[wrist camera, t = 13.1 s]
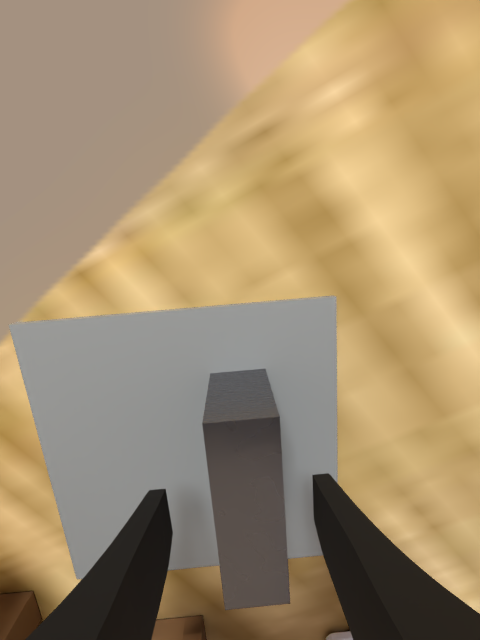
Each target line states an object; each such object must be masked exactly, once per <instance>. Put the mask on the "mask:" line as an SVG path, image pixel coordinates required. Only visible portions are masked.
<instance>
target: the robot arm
mask: <svg viewBox="0 0 480 640" xmlns="http://www.w3.org/2000/svg"><path fill="white" fill-rule="evenodd" d="M312 478H313V510H314V522H315V526H316V530H317V534H318V538H319V542H320V546H321V550H322V553H323V556H324V559H325V561H326V564H327V567H328V570H329V573H330V575H331V578H332V581H333V584H334V587H335V589H336V592H337V595H338V598H339V601H340V603H341V606H342V609H343V612H344V614H345V617H346V620H347V623H348V626H349V629H350V631H347V632H337V633H331V634H329V635H328V636H327V637H326V640H480V614H479V613H478V612H476V611H475V610H473V609H472V608H471V607H469V606H468V605H467V604H465V603H464V602H463V601H461V600H460V599H459V598H458V597H456V596H455V595H454V594H452V593H451V592H450V591H448V590H447V589H446V588H444V587H443V586H442V585H440V584H439V583H438V582H437V581H435V580H434V579H433V578H432V577H431V576H429V575H428V574H427V573H426V572H424V571H423V570H422V569H421V568H420V567H419V566H417V565H416V564H415V563H414V562H413V561H412V560H411V559H409V558H408V557H407V556H406V555H405V554H404V553H403V552H402V551H401V550H400V549H398V548H397V547H396V546H395V545H394V544H393V543H392V542H391V541H390V540H389V539H388V538H387V537H386V536H385V535H384V534H383V533H382V532H381V531H380V530H379V529H378V528H377V527H376V526H375V525H374V524H373V523H372V522H371V521H370V520H369V519H368V518H367V516H366V515H365V514H364V513H363V512H362V511H361V510H360V509H359V508H358V507H357V506H356V505H355V503H354V502H353V501H352V500H351V499H350V498H349V497H348V495H347V494H346V493H345V492H344V491H343V489H342V488H341V487H340V486H339V485H338V483H337V482H336V481H335V480H334V478H333V477H332V476H331V475H330V474H329V473H326V474H315V475H312ZM172 537H173V530H172V524H171V518H170V512H169V506H168V500H167V494H166V489H156V490H149V491H148V492H147V494H146V495H145V497H144V498H143V500H142V501H141V502H140V504H139V505H138V507H137V508H136V510H135V511H134V513H133V514H132V515H131V517H130V518H129V520H128V521H127V523H126V524H125V525H124V527H123V528H122V529H121V531H120V532H119V533H118V535H117V536H116V537H115V539H114V540H113V542H112V543H111V544H110V546H109V547H108V548H107V549H106V551H105V552H104V553H103V554H102V556H101V557H100V558H99V559H98V561H97V562H96V563H95V564H94V566H93V567H92V568H91V569H90V571H89V572H88V573H87V574H86V575H85V577H84V578H83V579H82V580H81V581H80V582H79V584H78V585H77V586H76V587H75V588H74V589H73V590H72V591H71V593H70V594H69V595H68V596H67V597H66V598H65V599H64V600H63V601H62V602H61V604H60V605H59V606H58V607H57V608H56V609H55V610H54V611H53V612H52V613H51V614H50V615H49V616H48V617H47V618H46V619H45V620H44V621H43V622H42V623H41V624H40V625H39V626H38V627H37V628H36V629H35V630H34V631H33V632H32V633H31V634H30V635H29V636H28V637H27V638H26V639H25V640H152V635H153V631H154V627H155V622H156V618H157V614H158V610H159V605H160V601H161V597H162V593H163V588H164V584H165V580H166V575H167V571H168V566H169V560H170V553H171V545H172Z"/></svg>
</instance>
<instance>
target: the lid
mask: <svg viewBox="0 0 480 640" xmlns="http://www.w3.org/2000/svg"><path fill="white" fill-rule="evenodd" d="M9 328H10V332H11V335H12V339H13V343H14V347H15V350H16V354H17V358H18V361H19V365H20V369H21V373H22V376H23V380H24V384H25V388H26V391H27V395H28V399H29V403H30V406H31V410H32V414H33V417H34V421H35V425H36V429H37V432H38V436H39V440H40V444H41V447H42V451H43V455H44V459H45V462H46V466H47V470H48V473H49V477H50V481H51V485H52V488H53V492H54V496H55V500H56V503H57V507H58V511H59V515H60V518H61V522H62V526H63V529H64V533H65V537H66V541H67V544H68V548H69V552H70V556H71V559H72V563H73V567H74V571H75V574H76V578H77V579H83V578H84V577H85V575H86V574H87V573H88V572H89V571H90V569H91V568H92V567H93V566H94V564H95V563H96V562H97V561H98V559H99V558H100V557H101V556H102V554H103V553H104V552H105V551H106V549H107V548H108V547H109V546H110V544H111V543H112V542H113V540H114V539H115V537H116V536H117V535H118V533H119V532H120V531H121V529H122V528H123V527H124V525H125V524H126V523H127V521H128V520H129V518H130V517H131V515H132V514H133V513H134V511H135V510H136V508H137V507H138V505H139V504H140V502H141V501H142V500H143V498H144V497H145V495H146V494H147V492H148V491H149V490H156V489H166V494H167V500H168V506H169V512H170V518H171V524H172V530H173V537H172V545H171V553H170V560H169V566H168V570H177V569H187V568H197V567H208V566H218V565H220V572H221V580H222V588H223V596H224V605H225V610H230V609H240V608H250V607H260V606H270V605H280V604H290V591H289V573H288V559H289V558H300V557H310V556H320V555H323V553H322V550H321V546H320V542H319V538H318V534H317V530H316V526H315V522H314V510H313V478H312V475H315V474H326V473H329V474H330V475H331V476H332V477H333V478H334V480H335V481H336V482H337V339H336V297H335V296H323V297H311V298H299V299H287V300H276V301H264V302H252V303H241V304H229V305H217V306H206V307H194V308H182V309H170V310H159V311H147V312H135V313H124V314H112V315H100V316H89V317H77V318H65V319H53V320H42V321H30V322H20V321H19V322H16V323H13V324H10V325H9Z"/></svg>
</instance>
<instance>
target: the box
mask: <svg viewBox="0 0 480 640" xmlns="http://www.w3.org/2000/svg"><path fill="white" fill-rule="evenodd" d="M40 620H41V615H40V612H39V609H38V606H37V602H36V599H35V596H34V593H33V591H29V592H19V593H9V594H0V640H25V639H26V638H27V637H28V636H29V635H30V634H31V633H32V632H33V631H34V630H35V629H36V628H37V626H38V624H39V622H40ZM152 640H206V634H205V627H204V621H203V616H193V617H183V618H172V619H162V620H156V622H155V627H154V631H153V635H152Z"/></svg>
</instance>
